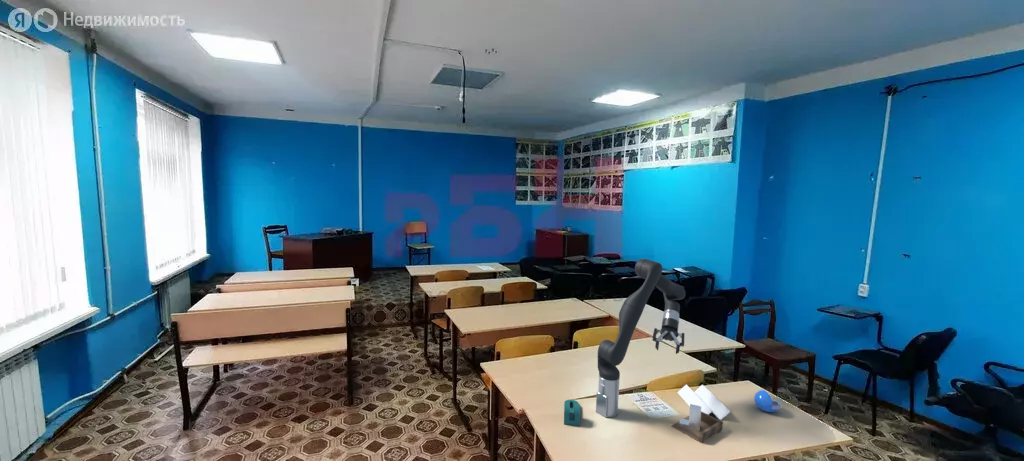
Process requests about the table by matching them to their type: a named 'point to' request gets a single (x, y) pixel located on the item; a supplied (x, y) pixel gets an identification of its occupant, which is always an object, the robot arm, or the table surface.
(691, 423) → the aluminium bracket
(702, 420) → the walnut corner tray
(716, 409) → the z bracket
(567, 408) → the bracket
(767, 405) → the blue rounded hollow shell
